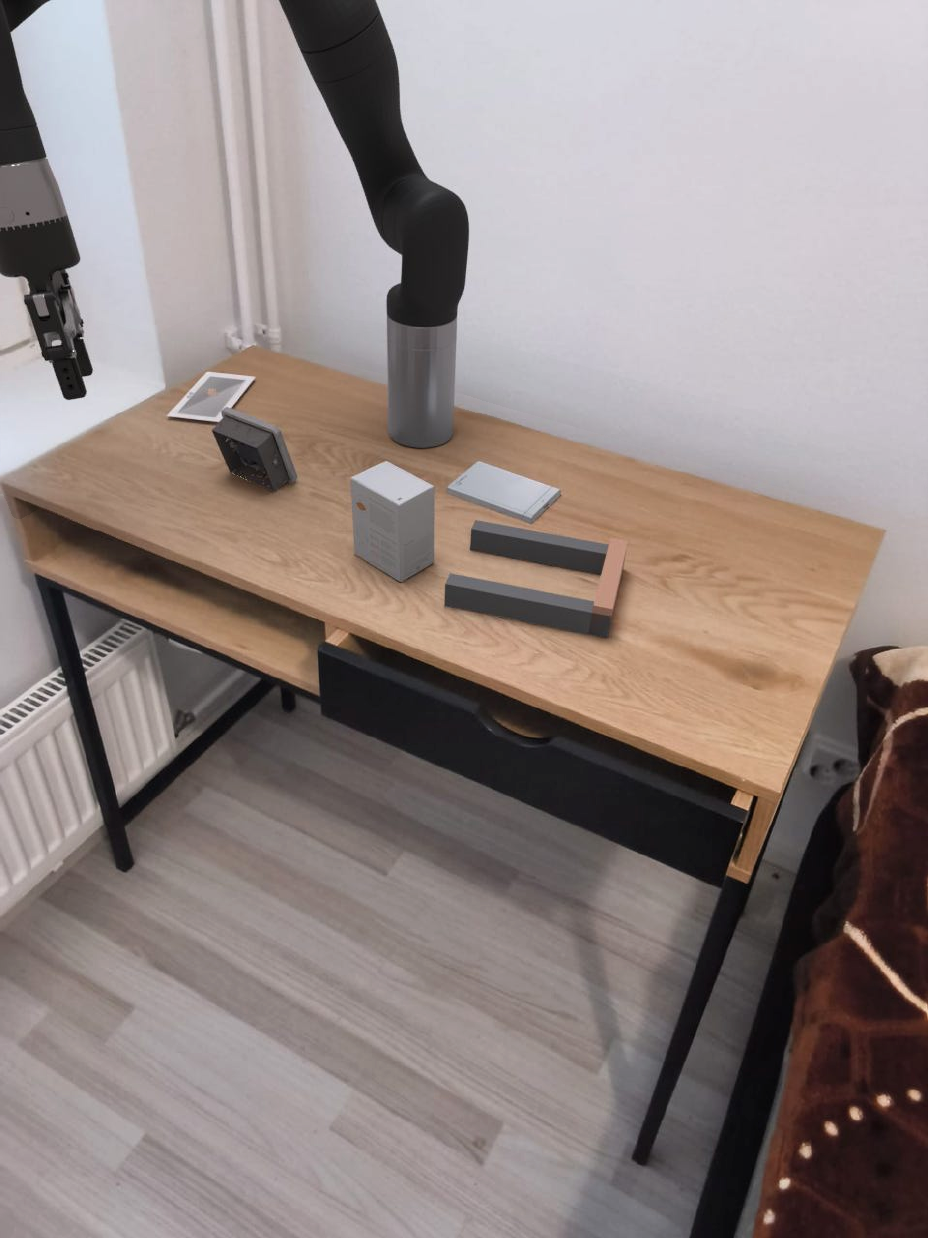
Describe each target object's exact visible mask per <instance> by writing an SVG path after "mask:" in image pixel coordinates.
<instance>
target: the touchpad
mask: <svg viewBox="0 0 928 1238" xmlns="http://www.w3.org/2000/svg"><path fill="white" fill-rule="evenodd" d="M255 379H256V376H250V375H243V374H231V373H225V372H224V373H223V372H222V373H221V372H214V371H206V372H205V373H204V374H203V376H201V377H200V379H198V381H197V382H196V383H195V384H194V385H193V386H192V387H191V388H190V390H188V392H187V393H186V394H184V396H183V397H182V398H181V399H180V401H179V402H178V403H177V404H176V405H175V406H174V407H173V408H172V409H171V410H170V411H169V413H167V415H166V417H171V418H173V417H174V418H180V419H188V420H189V419H190V420H196V421H197V420H199V421H207V422H216V423H219V421H220V420H222V419H223V417H222V414H221V410H223V409H224V408H226V407H229V408H231V409H232V408H233V406H234V405H235V404H236V402H238V399H240V397H241V396H242V395H243V394H244V392H245V391H246V390H247V389H248V388H249V386H250V385H251V384H252V383H253V382H254V380H255Z"/></svg>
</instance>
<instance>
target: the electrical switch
mask: <svg viewBox="0 0 928 1238" xmlns="http://www.w3.org/2000/svg"><path fill="white" fill-rule="evenodd" d="M221 414H222V417H223V419H222V420H220V421H219V422H217V425H215V426H214V427H212V429H211V432H212V434H213V435H212V436H213V437H214V439H215V441H216V444H217V446H218V448H219V450H220V452H221V455H222V457H223V460H224V461H225V464H226V467H227V468H228V470H229V473H230V474H232V473H234V474H235V475H236V476H235V475H234V476H235V477H238V476H239V477H238V478H240V476H241V477H242V478H244V479H243V480H245V479H247V480H248V481H247V480H246V481H247V482H249V481H251V482H250V483H252V484H254V485H257V486H259V487H261V488H264V489H266V490H269V491H272V492H274V493H276V492H277V491H278V490H279V488H281V487H282V486H284V485H285V484H286V482H288V483H289V484H292V483H293V484H294V483H295V482H296V481H297V480H298V478H299V477H298V475H297V471H296V469H295V466H294V464H293V460H292V457H291V454H290V452H289V449H288V446H287V443H286V441H285V439H284V435H283V433H282V430H281V429H280V428H279V426H278V425H276V424H273V423H270V422H268V421H266V420H262V419H260V418H257V417H255V416H252V415H249V414H247V413H244V412H242V411H239V410H236V409H234V408H232V407H231V408H229V407H226V408H224V409H223V410H221ZM260 472H262V473H263V474H262V475H261V476H259V473H260ZM237 475H238V476H237ZM242 478H241V479H242Z"/></svg>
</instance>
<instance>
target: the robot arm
mask: <svg viewBox="0 0 928 1238" xmlns="http://www.w3.org/2000/svg"><path fill="white" fill-rule="evenodd" d="M50 1H51V0H0V275H1V276H3V277H6V278H20V277H23V278H25V279H26V280H27V285H28V289H29V291H28V293H29V294H24V296H23V302H24V305H25V306H26V308H27V311H28V314H29V318H30V320H31V323H32V327H33V329H34V332H35V335H36V339H37V342H38V344H39V345H38V346H39V348H40V350H41V351H40V352H41V353H40V354H41V357H42V358H43V359H44V361H45V362H49V364H51V365H52V367H53V370H54V373H55V377H56V380H57V383H58V385H59V389H60V391H61V393H62V397H63V398H64V399H65V400H66V401H72V400H76V399H77V400H78V399H82V398H85V397H86V396H87V394H88V393H87V392H88V391H87V390H88V389H87V387H86V384H85V381H84V377H90V376H92V374H93V371H94V369H93V366H92V362H91V359H90V356H89V353H88V350H87V347H86V343H85V340H84V337H85V336H84V334H85V330H84V324H85V322H84V319H83V318H82V317H81V315H82V314H81V311H80V309H79V306H78V304H77V301H76V296H75V290H74V289H73V286H72V285H71V281H70V279H69V278H70V277H69V276H70V275H69V273H68V272H67V270H68V269H71V268H73V267H75V266H77V265H79V263H80V262H81V255H80V252H79V249H78V248H79V247H78V245H77V242H76V238H75V236H74V232H73V229H72V225H71V222H70V218H69V215H68V212H67V209H66V206H65V202H64V198H63V196H62V193H61V189H60V186H59V183H58V181H57V179H56V177H55V174H54V171H53V169H52V167H51V165H50V162H49V159H48V158H47V157H48V156H47V153H46V150H45V147H44V143H43V140H42V136H41V134H40V130H39V127H38V123H37V121H36V117H35V115H34V112H33V110H32V107H31V105H30V102H29V100H28V97H27V95H26V92H25V89H24V84H23V80H22V76H21V72H20V66H19V62H18V59H17V54H16V49H15V46H14V41H13V37H12V32H13V31H15V30H16V29H17V28H18V27H19V26H20V25H22V24H23V23H24V22H25V21H26V20H28V19H29V17H31V16H32V15H33V14H34V13H36V12H37V10H38V9H40V8H41V7H42V6H43V5H45V4H46V3H48V2H50ZM278 2H279V4H280V7H281V9H282V11H283V12H284V15H285V18H286V20H287V23H288V24H289V28H290V29H291V31H292V35H293V37H294V40H295V42H296V44H297V46H298V48H299V51H300V54H301V55H302V57H303V60H304V62H305V64H306V66H307V69H308V71H309V73H310V75H311V77H312V79H313V81H314V84H315V85H316V87H317V89H318V91H319V93H320V95H321V97H322V99H323V102H324V103H325V105H326V107H327V110H328V113H329V114H330V116H331V119H332V121H333V123H334V125H335V128H336V129H337V131H338V133H339V135H340V138H341V139H342V141H343V143H344V144H345V147H346V148H347V150H348V153H349V155H350V157H351V160H352V162H353V164H354V167H355V171H356V172H357V176H358V178H359V181H360V184H361V187H362V189H363V194H364V196H365V199H366V202H367V205H368V208H369V212H370V214H371V217H372V220H373V222H374V225H375V228H376V230H377V232H378V234H379V236H380V238H381V239H382V240H383V242H384V243H385V244H386V245H387V246H388V247H389V248H390V249H392V250H393V251H395V252H396V253H398V254H399V255H401V273H400V274H401V275H400V282H399V283H397V284H395V285H394V286H392V287H391V288H390V289H389V290H388V291H387V294H386V304H385V305H386V306H385V307H386V348H387V349H386V351H387V355H386V356H387V361H386V362H387V365H386V366H387V428H388V429H387V431H388V436H389V437H390V439H392V440H393V441H394V442H396V443H398V444H400V445H403V446H407V447H409V448H418V449H419V448H420V449H421V448H422V449H423V448H433V447H438V446H440V445H443V444H445V443H447V442H448V441H450V440H451V439H452V437H453V434H454V420H455V419H454V414H455V393H456V392H455V391H456V390H455V389H456V369H457V367H456V364H457V337H458V336H457V335H458V334H457V332H458V330H457V329H458V307H459V304H460V301H461V299H462V297H463V295H464V290H465V285H466V279H467V278H466V277H467V276H466V275H467V266H468V255H469V254H468V252H469V242H470V241H469V240H470V222H469V215H468V211H467V207H466V205H465V203H464V202H463V200H462V199H461V198H460V197H461V196H459V195H458V194H456V193H455V192H454V191H452V190H450V189H448V188H447V187H444V186H443V185H440V184H438V183H437V182H434V181H433V180H430V179H429V178H428V176H427V175H426V174H425V172H424V170H423V168H422V167H421V164H420V163H419V161H418V159H417V157H416V155H415V152H414V150H413V148H412V145H411V143H410V141H409V139H408V136H407V132H406V131H405V127H404V123H403V118H402V114H401V113H402V112H401V111H402V110H401V89H400V88H401V86H400V73H399V72H400V71H399V66H398V59H397V54H396V52H395V49H394V45H393V43H392V40H391V38H390V34H389V32H388V29H387V25H386V23H385V22H384V19H383V16H382V13H381V10H380V8H379V5H378V2H377V0H278ZM54 341H59V342H61V343H60V344H58V345H53V342H54Z"/></svg>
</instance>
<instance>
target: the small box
mask: <svg viewBox="0 0 928 1238" xmlns="http://www.w3.org/2000/svg"><path fill="white" fill-rule="evenodd" d="M349 481H350V482H349V483H350V496H351V497H350V499H351V513H352V515H351V516H352V532H353V550H354V555H356V556H357V557H359V558H360V559H363V560H364V561H365V562H367V563H369V564H370V565H372V566H374V567H375V568H377V569H378V570H380V571H381V572H383V573H385V574H386V575H388V576H390V577H391V578H393V579H394V580H396V581H398V582H399V583H402V582H404V581H406V580H407V579H409V578H410V577H412V576H415V575H416V574H417V573H418V572H421V571H422V570H424V569H426V568H427V567H429V566H431V565H432V564H434V563H435V508H436V507H435V496H436V495H435V494H436V493H435V485H433V484H431V483H429V482H427V481H425V480H423V479H422V478H420V477H417V475H416V476H415V475H414V474H412V473H410V472H408V471H407V470H404V469H402V468H400V467H398V466H396V465H395V464H392V463H391V462H389V461H387V460H385V461H384V462H380V463H379V464H377V465H374V466H372V467H370V468H368V469H366V470H364V471H362V472H359V473H357V474H355V475H353V476H351V477H350V478H349Z"/></svg>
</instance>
